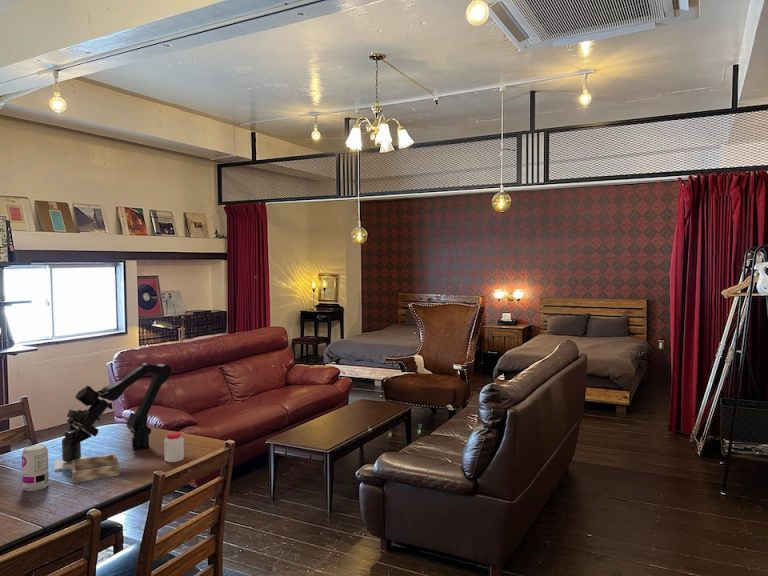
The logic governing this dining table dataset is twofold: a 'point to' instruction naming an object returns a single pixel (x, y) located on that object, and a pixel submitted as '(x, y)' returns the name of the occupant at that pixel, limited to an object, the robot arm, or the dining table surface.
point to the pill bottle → (174, 447)
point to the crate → (95, 472)
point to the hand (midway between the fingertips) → (67, 444)
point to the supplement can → (35, 467)
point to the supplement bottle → (67, 450)
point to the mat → (64, 464)
